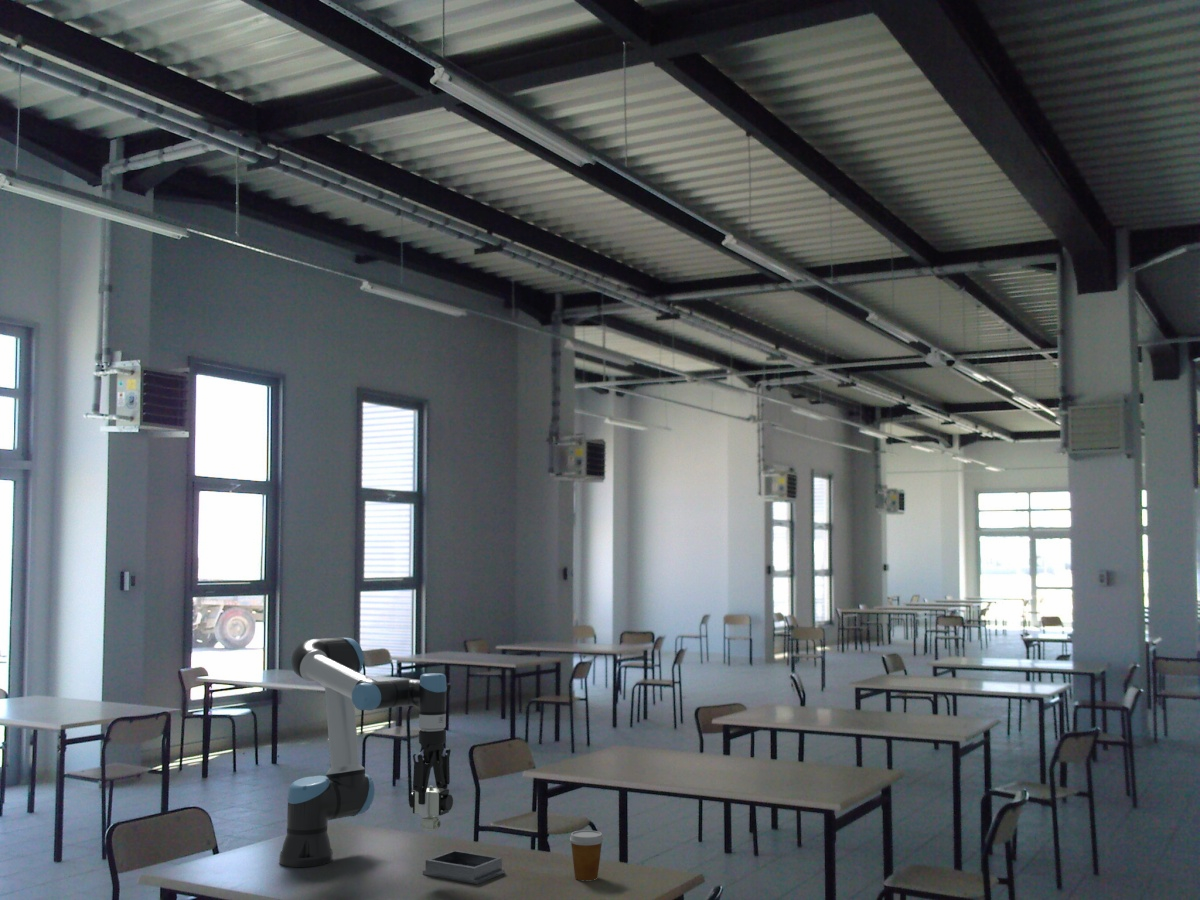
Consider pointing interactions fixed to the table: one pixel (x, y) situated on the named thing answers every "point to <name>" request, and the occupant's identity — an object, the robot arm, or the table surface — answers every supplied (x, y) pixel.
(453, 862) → the rectangular open-top bin
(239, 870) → the table surface
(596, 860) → the disposable coffee cup
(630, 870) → the table surface
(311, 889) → the table surface
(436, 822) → the pneumatic valve
